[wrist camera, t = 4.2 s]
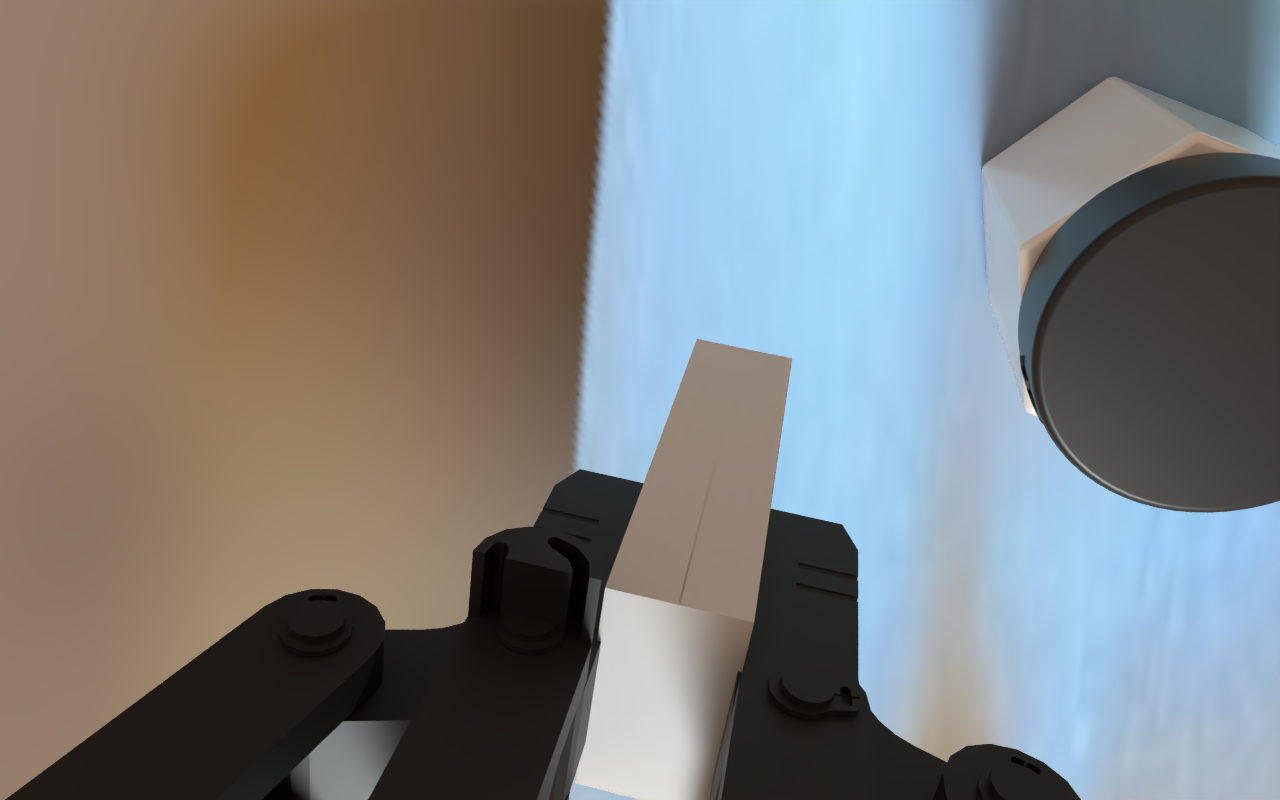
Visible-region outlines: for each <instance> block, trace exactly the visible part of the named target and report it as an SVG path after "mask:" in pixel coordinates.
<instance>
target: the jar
mask: <svg viewBox="0 0 1280 800" xmlns="http://www.w3.org/2000/svg"><path fill="white" fill-rule="evenodd" d="M981 175H982V195H983V216H984V236H985V256H986V276H987V294H988V298H989V301H990V304H991V307H992V310H993V313H994V316H995V319H996V322H997V326H998V329H999V332H1000V335H1001V338H1002V341H1003V344H1004V347H1005V350H1006V353H1007V356H1008V359H1009V363H1010V366H1011V369H1012V372H1013V375H1014V378H1015V381H1016V384H1017V387H1018V390H1019V393H1020V396H1021V399H1022V403H1023V406H1024V408H1025V410H1026V411H1027V412H1028V413H1030V414H1032V415H1034V416H1037V417H1038V418H1039V420H1040V421H1041V423H1042V424H1044V426H1045V428H1046V430H1047V432H1048V434H1049V435H1050V437H1051V439H1052V440H1053V441H1054V443H1055V444H1056V446H1057V447H1058V448H1059V450H1060V451H1061V452H1062V453H1063V454H1064V456H1065V457H1066V458H1067V459H1068V460H1069V461H1070V462H1071V463H1072V464H1073V465H1074V466H1075V467H1077V468H1078V469H1079V470H1080V471H1081V472H1082V473H1083V474H1085V475H1086V476H1087V477H1089V478H1090V479H1092V480H1093V481H1094V482H1096V483H1097V484H1099V485H1101V486H1103V487H1104V488H1106V489H1108V490H1109V491H1112V492H1114V493H1116V494H1118V495H1120V496H1122V497H1125V498H1127V499H1130V500H1133V501H1136V502H1138V503H1142V504H1145V505H1149V506H1153V507H1157V508H1163V509H1168V510H1174V511H1185V512H1225V511H1234V510H1241V509H1248V508H1253V507H1258V506H1262V505H1267V504H1270V503H1274V502H1277V501H1280V147H1278V146H1276V145H1275V144H1273V143H1271V142H1269V141H1268V140H1266V139H1264V138H1262V137H1260V136H1259V135H1257V134H1255V133H1253V132H1252V131H1250V130H1248V129H1246V128H1244V127H1241V126H1239V125H1236V124H1234V123H1231V122H1229V121H1226V120H1224V119H1221V118H1219V117H1216V116H1214V115H1211V114H1209V113H1206V112H1204V111H1201V110H1199V109H1196V108H1194V107H1191V106H1188V105H1186V104H1183V103H1181V102H1178V101H1176V100H1173V99H1171V98H1168V97H1166V96H1163V95H1161V94H1158V93H1156V92H1153V91H1151V90H1148V89H1146V88H1143V87H1141V86H1138V85H1136V84H1133V83H1131V82H1128V81H1126V80H1123V79H1121V78H1118V77H1109V78H1107V79H1105V80H1104V81H1102V82H1101V83H1100V84H1098V85H1097V86H1095V87H1094V88H1093V89H1091V90H1090V91H1088V92H1087V93H1085V94H1084V95H1083V96H1081V97H1080V98H1078V99H1077V100H1075V101H1074V102H1073V103H1071V104H1070V105H1068V106H1067V107H1065V108H1064V109H1063V110H1061V111H1060V112H1058V113H1057V114H1055V115H1054V116H1053V117H1051V118H1050V119H1048V120H1047V121H1045V122H1044V123H1043V124H1041V125H1040V126H1038V127H1037V128H1035V129H1034V130H1033V131H1031V132H1030V133H1028V134H1027V135H1025V136H1024V137H1023V138H1021V139H1020V140H1018V141H1017V142H1015V143H1014V144H1013V145H1011V146H1010V147H1008V148H1007V149H1005V150H1004V151H1003V152H1001V153H1000V154H998V155H997V156H995V157H994V158H992V159H991V160H990V161H988V162H987V163H985V164H984V166H983V167H982V170H981Z"/></svg>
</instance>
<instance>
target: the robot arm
mask: <svg viewBox="0 0 1280 800" xmlns="http://www.w3.org/2000/svg"><path fill="white" fill-rule="evenodd" d="M791 362H792V358H787V357H782V356H777V355H772V354H767V353H762V352H758V351H753V350H748V349H743V348H738V347H733V346H728V345H723V344H718V343H714V342H709V341H704V340H699V339H697V341H696V344H695V346H694V349H693V352H692V354H691V357H690V360H689V362H688V365H687V368H686V371H685V373H684V376H683V379H682V381H681V384H680V387H679V389H678V392H677V395H676V398H675V400H674V403H673V406H672V408H671V411H670V414H669V417H668V419H667V422H666V425H665V427H664V430H663V433H662V435H661V438H660V441H659V444H658V446H657V449H656V452H655V454H654V457H653V460H652V462H651V465H650V468H649V471H648V473H647V476H646V479H645V481H644V483H640V482H635V481H631V480H626V479H622V478H617V477H613V476H608V475H603V474H599V473H594V472H590V471H585V470H581V469H580V470H578V471H577V472H575V473H573V474H572V475H570V476H569V477H567V478H566V479H564V480H563V481H561V482H559V483H558V484H556V485H555V486H554V488H553V490H552V492H551V494H550V496H549V498H548V500H547V502H546V503H545V505H544V507H543V511H542V512H541V513H540V515H539V517H538V519H537V521H536V522H535V524H534V527H523V528H515V529H506V530H504V531H501V532H499V533H497V534H494V535H492V536H489V537H487V538H486V539H484V540H483V542H482V543H480V544H479V545H478V546H477V547H476V549H474V550H473V559H472V560H473V561H472V572H471V586H470V598H469V612H468V617H467V619H466V621H465V622H463V623H461V624H457V625H453V626H449V627H445V628H439V629H426V630H385V621H384V619H383V618H382V616H381V614H380V612H379V610H378V609H377V607H376V606H374V605H373V604H371V603H370V602H368V601H367V600H366V599H364V598H363V597H361V596H359V595H356V594H352V593H348V592H345V591H341V590H337V589H335V590H334V589H310V590H306V591H301V592H297V593H293V594H288V595H285V596H283V597H281V598H279V599H278V600H276V601H274V602H272V603H270V604H268V605H266V606H265V607H263V608H262V609H260V610H259V611H258V612H256V613H255V614H254V615H252V616H251V617H250V618H248V619H247V620H246V621H244V622H243V623H242V624H240V625H239V626H238V627H236V628H235V629H234V630H232V631H231V632H230V633H228V634H227V635H226V636H224V637H223V638H222V639H220V640H219V641H217V642H216V643H215V644H213V645H212V646H211V647H210V648H208V649H207V650H205V651H204V652H203V653H201V654H200V655H199V656H197V657H196V658H195V659H193V660H192V661H191V662H189V663H188V664H187V665H186V666H184V667H183V668H181V669H180V670H179V671H177V672H176V673H175V674H173V675H172V676H171V677H169V678H168V679H167V680H165V681H164V682H163V683H161V684H160V685H158V686H157V687H156V688H154V689H153V690H152V691H150V692H149V693H148V694H146V695H145V696H144V697H143V698H141V699H140V700H138V701H137V702H136V703H134V704H133V705H132V706H130V707H129V708H128V709H126V710H125V711H124V712H122V713H121V714H120V715H118V716H117V717H116V718H114V719H113V720H111V721H110V722H109V723H107V724H106V725H105V726H104V727H102V728H101V729H99V730H98V731H97V732H95V733H94V734H93V735H92V736H90V737H89V738H87V739H86V740H85V741H83V742H82V743H81V744H79V745H78V746H77V747H75V748H74V749H73V750H71V751H70V752H69V753H67V754H66V755H65V756H63V757H62V758H60V759H59V760H58V761H56V762H55V763H54V764H52V765H51V766H50V767H48V768H47V769H46V770H44V771H43V772H42V773H40V774H39V775H38V776H37V777H35V778H34V779H32V780H31V781H30V782H28V783H27V784H26V785H24V786H23V787H22V788H20V789H19V790H18V791H16V792H15V793H14V794H12V795H11V796H10V797H8V798H7V799H5V800H569V794H570V789H571V786H572V783H573V780H574V777H575V773H576V770H577V776H576V782H575V783H577V784H581V785H585V786H589V787H592V788H596V789H600V790H604V791H608V792H612V793H616V794H620V795H624V796H628V797H632V798H635V799H639V800H1081V799H1080V798H1079V797H1078V795H1077V794H1076V792H1075V791H1074V790H1073V788H1072V787H1071V786H1070V784H1069V783H1068V782H1067V781H1066V780H1065V779H1064V778H1062V777H1061V776H1060V775H1059V774H1057V773H1056V772H1055V771H1054V770H1052V769H1051V768H1050V767H1049V766H1047V765H1046V764H1045V763H1044V762H1042V761H1040V760H1037V759H1035V758H1033V757H1031V756H1029V755H1027V754H1025V753H1023V752H1021V751H1019V750H1017V749H1012V748H1007V747H1002V746H998V745H993V744H983V745H973V746H966V747H965V748H963V749H961V750H960V751H958V752H956V753H955V754H953V755H951V756H950V758H949V760H948V762H945V761H943V760H941V759H939V758H937V757H935V756H933V755H931V754H929V753H927V752H925V751H923V750H921V749H919V748H917V747H915V746H913V745H912V744H910V743H908V742H907V741H905V740H903V739H902V738H900V737H898V736H897V735H895V734H894V733H893V732H892V731H890V730H889V729H888V728H887V727H886V726H884V725H883V724H882V723H881V722H880V721H879V720H878V719H877V718H876V716H875V715H874V714H873V713H872V712H871V710H870V706H869V702H868V699H867V695H866V692H865V691H864V690H863V689H862V687H861V686H860V685H859V681H858V602H857V599H858V581H857V578H858V550H857V548H856V546H855V545H854V543H853V541H852V540H851V538H850V537H849V535H848V533H847V532H846V530H845V528H844V527H843V525H842V524H837V523H833V522H828V521H824V520H819V519H815V518H810V517H806V516H801V515H797V514H792V513H788V512H783V511H779V510H774V509H770V508H771V502H772V495H773V488H774V481H775V474H776V467H777V460H778V453H779V446H780V439H781V432H782V425H783V418H784V411H785V404H786V397H787V390H788V383H789V376H790V369H791ZM577 767H578V769H577Z"/></svg>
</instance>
